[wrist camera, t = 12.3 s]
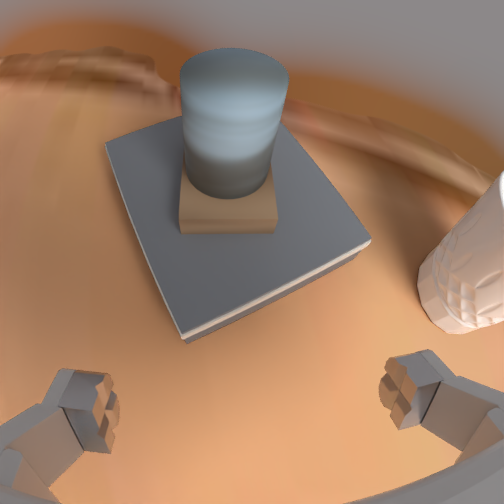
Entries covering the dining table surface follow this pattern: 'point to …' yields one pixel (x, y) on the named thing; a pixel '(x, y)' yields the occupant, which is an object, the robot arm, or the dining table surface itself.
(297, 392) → the dining table surface
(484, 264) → the white cup
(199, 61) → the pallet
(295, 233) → the dock
